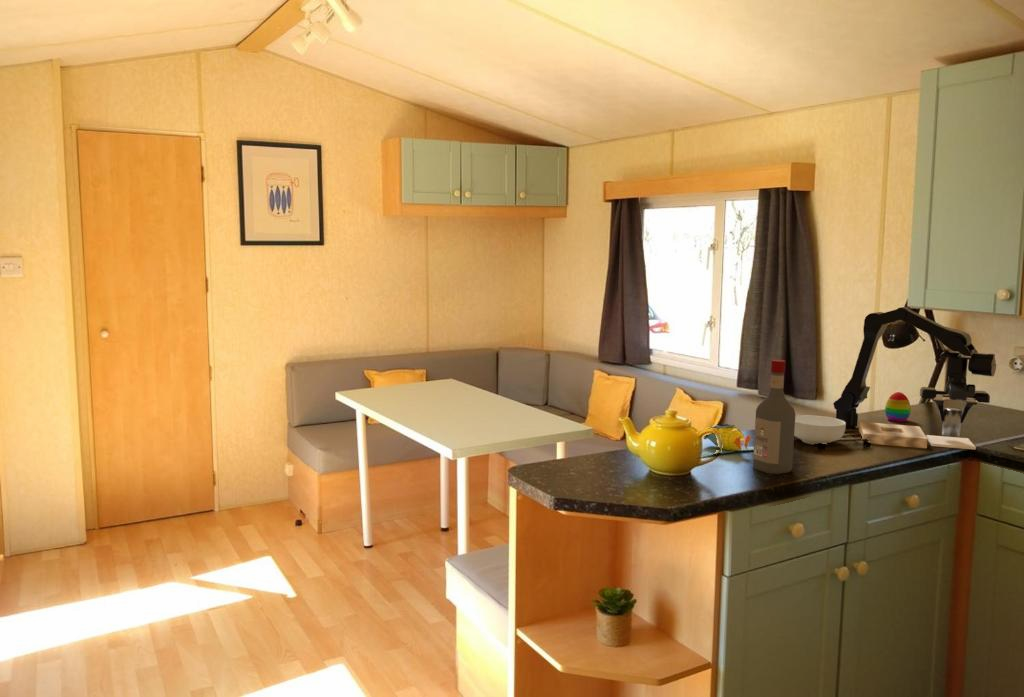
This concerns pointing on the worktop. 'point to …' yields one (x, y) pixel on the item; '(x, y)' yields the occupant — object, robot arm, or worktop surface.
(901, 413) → the decorative egg
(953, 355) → the robot arm
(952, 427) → the metal part
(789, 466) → the liquor
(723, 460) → the worktop surface
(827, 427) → the cereal bowl
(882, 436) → the pocket block
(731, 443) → the colourful shoe
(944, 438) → the ceramic tile
